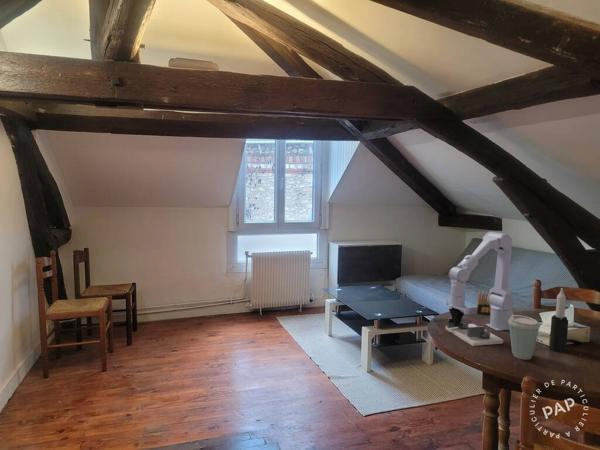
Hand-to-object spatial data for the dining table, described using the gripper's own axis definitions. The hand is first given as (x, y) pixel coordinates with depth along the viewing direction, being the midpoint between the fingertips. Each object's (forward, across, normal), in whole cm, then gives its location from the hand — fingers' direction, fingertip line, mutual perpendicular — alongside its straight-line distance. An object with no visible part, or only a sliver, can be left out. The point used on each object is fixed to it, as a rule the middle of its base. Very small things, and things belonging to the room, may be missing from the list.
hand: (456, 325), depth 181 cm
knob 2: (+2, +9, +4) cm, 11 cm away
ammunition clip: (+4, -22, +32) cm, 39 cm away
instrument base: (+4, +3, +6) cm, 8 cm away
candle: (+4, +23, +30) cm, 38 cm away
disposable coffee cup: (+4, +26, +11) cm, 29 cm away
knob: (+2, -3, +2) cm, 4 cm away
